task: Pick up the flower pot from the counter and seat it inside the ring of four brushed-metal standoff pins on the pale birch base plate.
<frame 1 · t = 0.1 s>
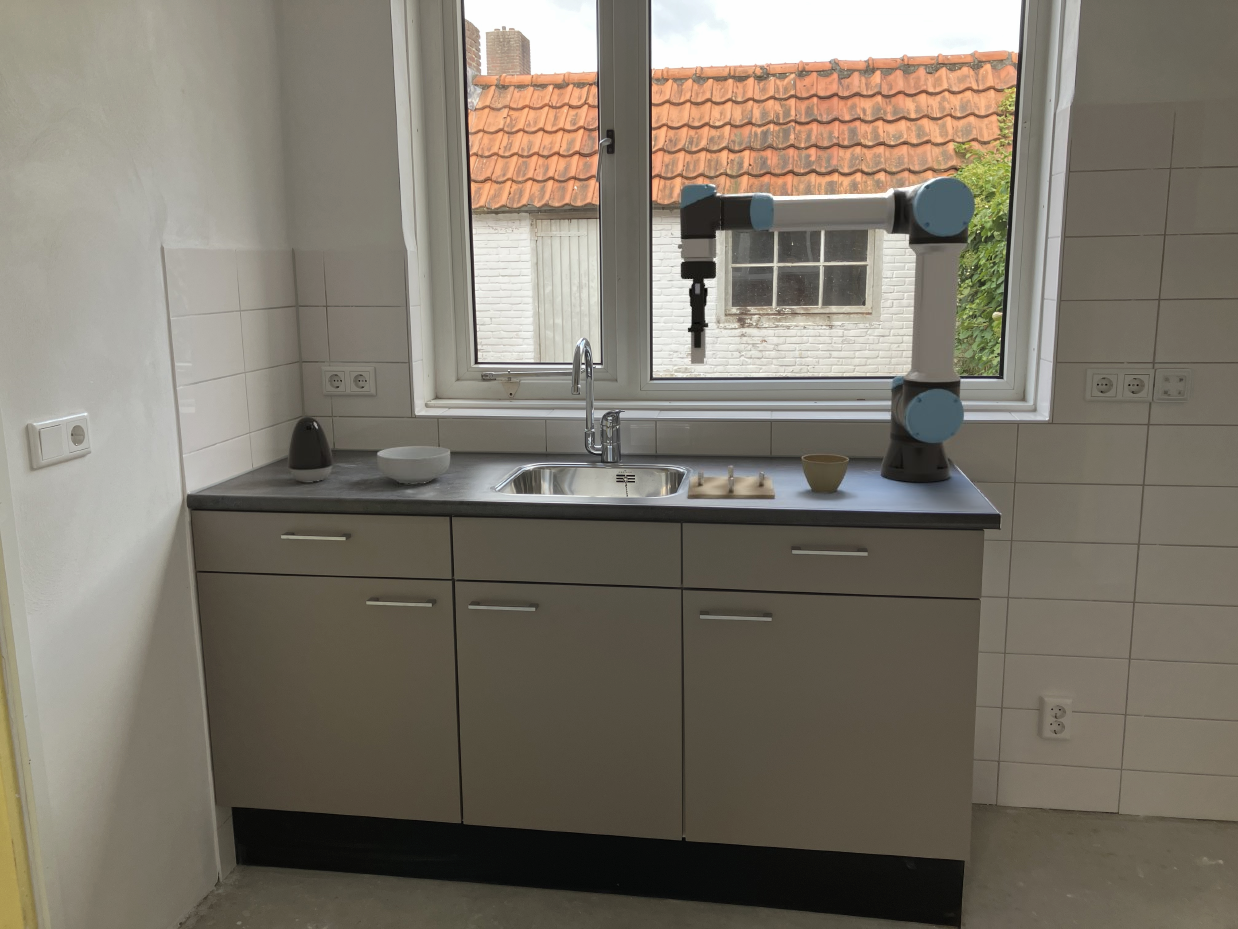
hand: (698, 360, 217), 28 cm above the worktop, fingers open, 13 cm apart
wooden peg board: (731, 488, 220), on the worktop
black egg-shaped dome: (312, 481, 236), on the worktop
flower pot: (824, 491, 217), on the worktop
cereal bowl: (415, 482, 234), on the worktop
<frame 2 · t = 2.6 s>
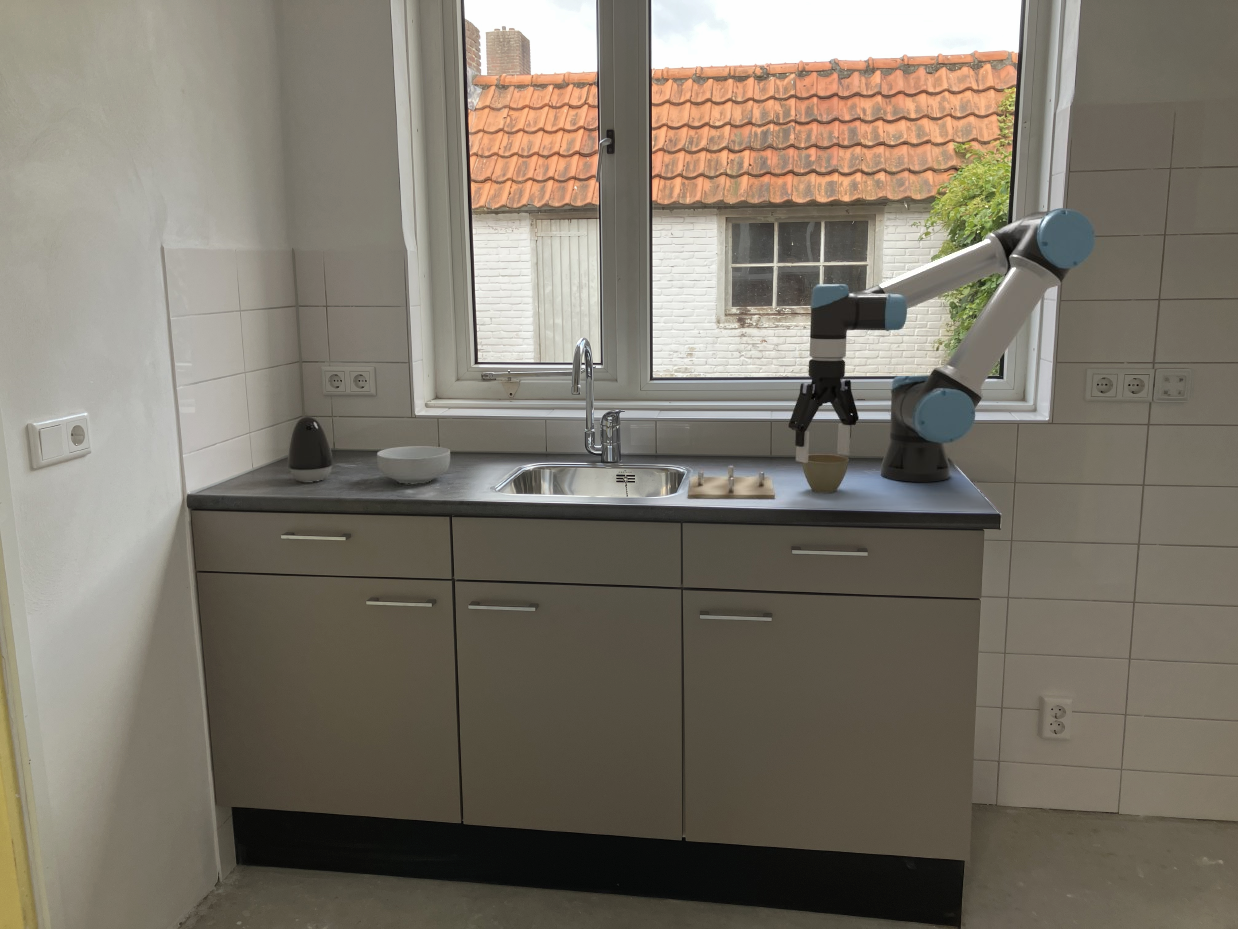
hand: (822, 458, 215), 7 cm above the worktop, fingers open, 13 cm apart
nothing on the worktop moved.
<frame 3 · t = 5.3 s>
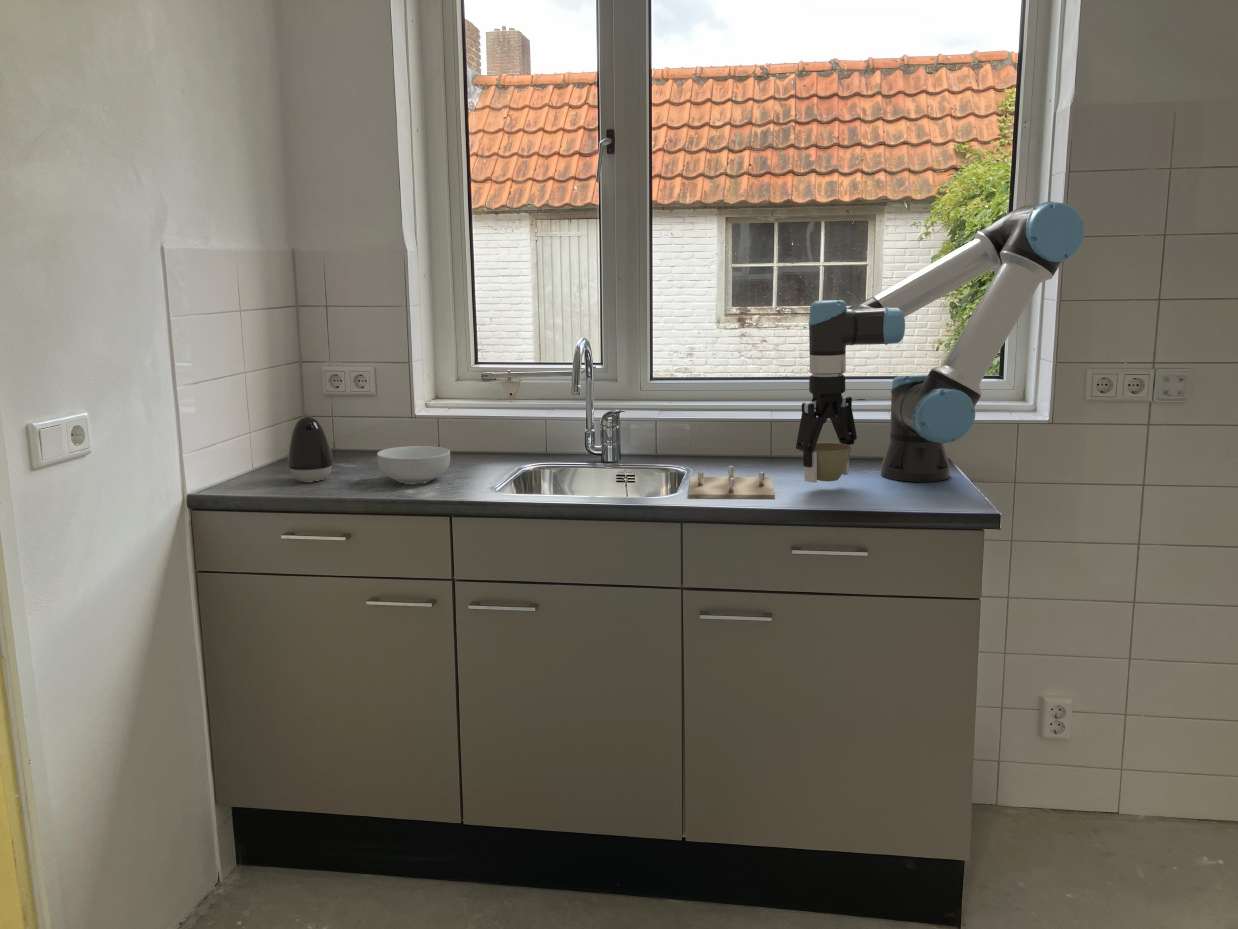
hand: (826, 477, 216), 3 cm above the worktop, fingers closed on flower pot, 10 cm apart
flower pot: (827, 480, 216), point 2 cm above the worktop, touching gripper
everything else where it was.
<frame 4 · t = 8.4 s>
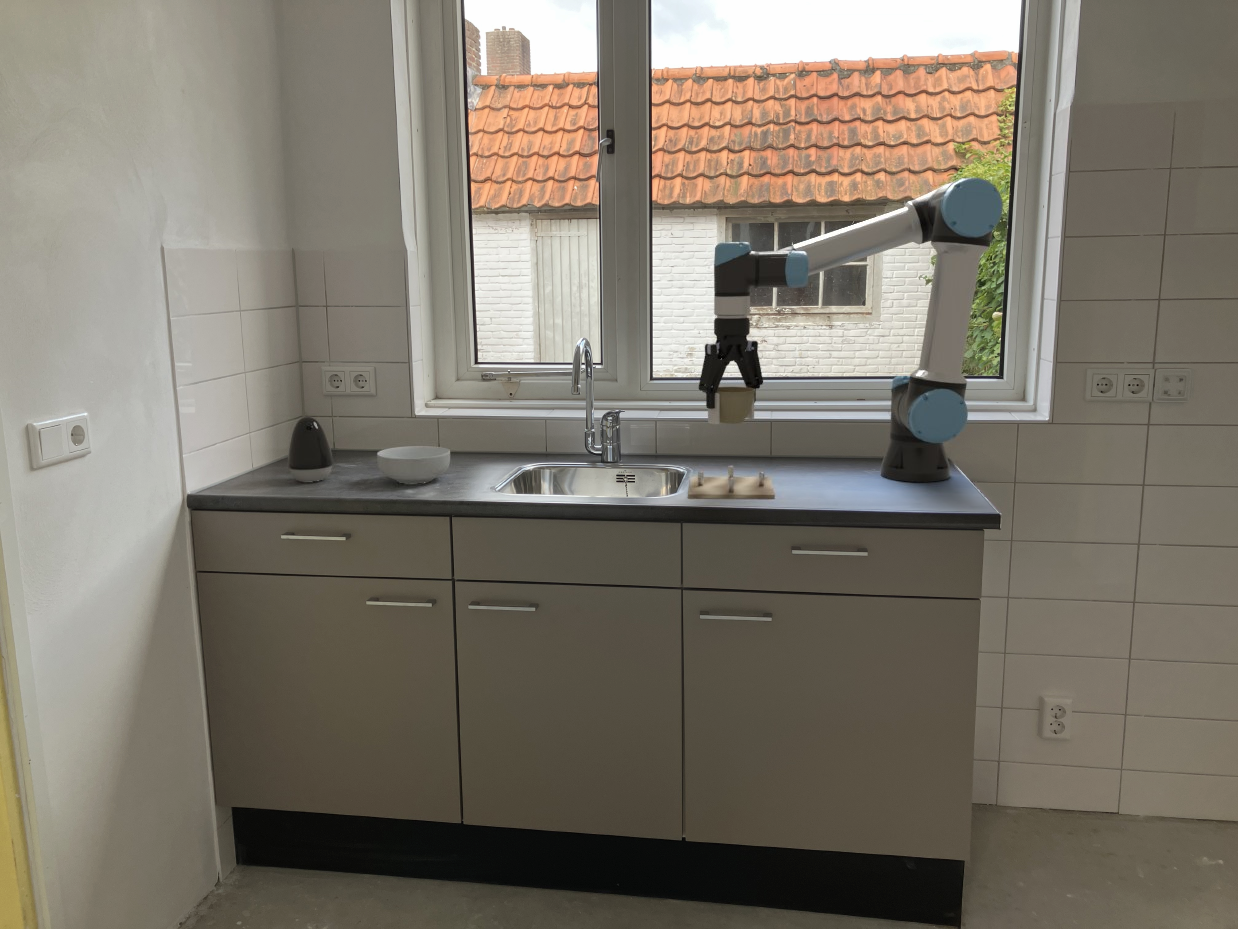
hand: (731, 420, 217), 15 cm above the worktop, fingers closed on flower pot, 10 cm apart
flower pot: (731, 422, 217), point 15 cm above the worktop, touching gripper
everything else where it was.
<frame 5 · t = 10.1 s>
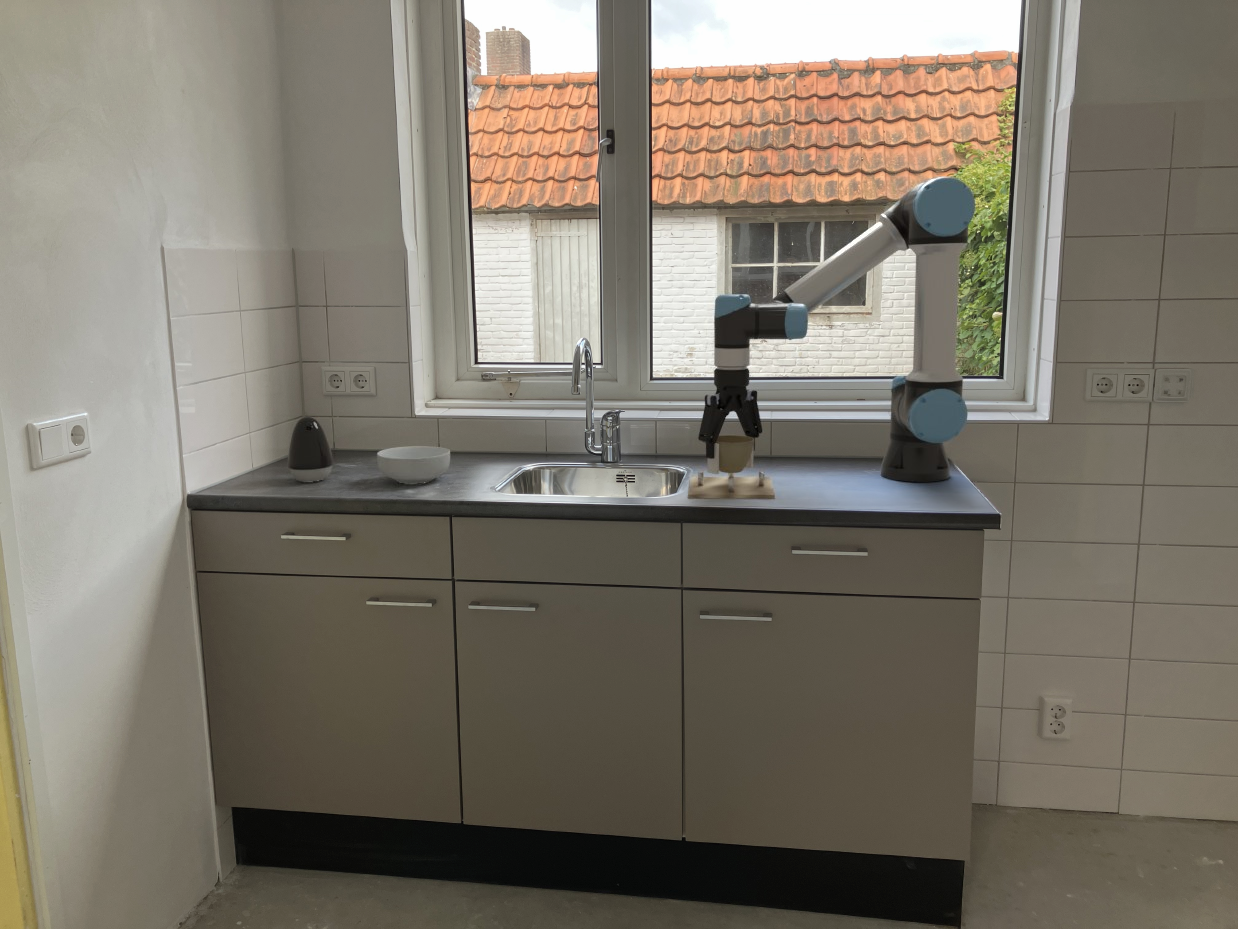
hand: (730, 469, 219), 4 cm above the worktop, fingers closed on flower pot, 10 cm apart
flower pot: (730, 471, 219), point 4 cm above the worktop, touching gripper
everything else where it was.
when the fingers open (2 cm above the worktop, at t = 11.6 s): flower pot drops 1 cm, resting on wooden peg board.
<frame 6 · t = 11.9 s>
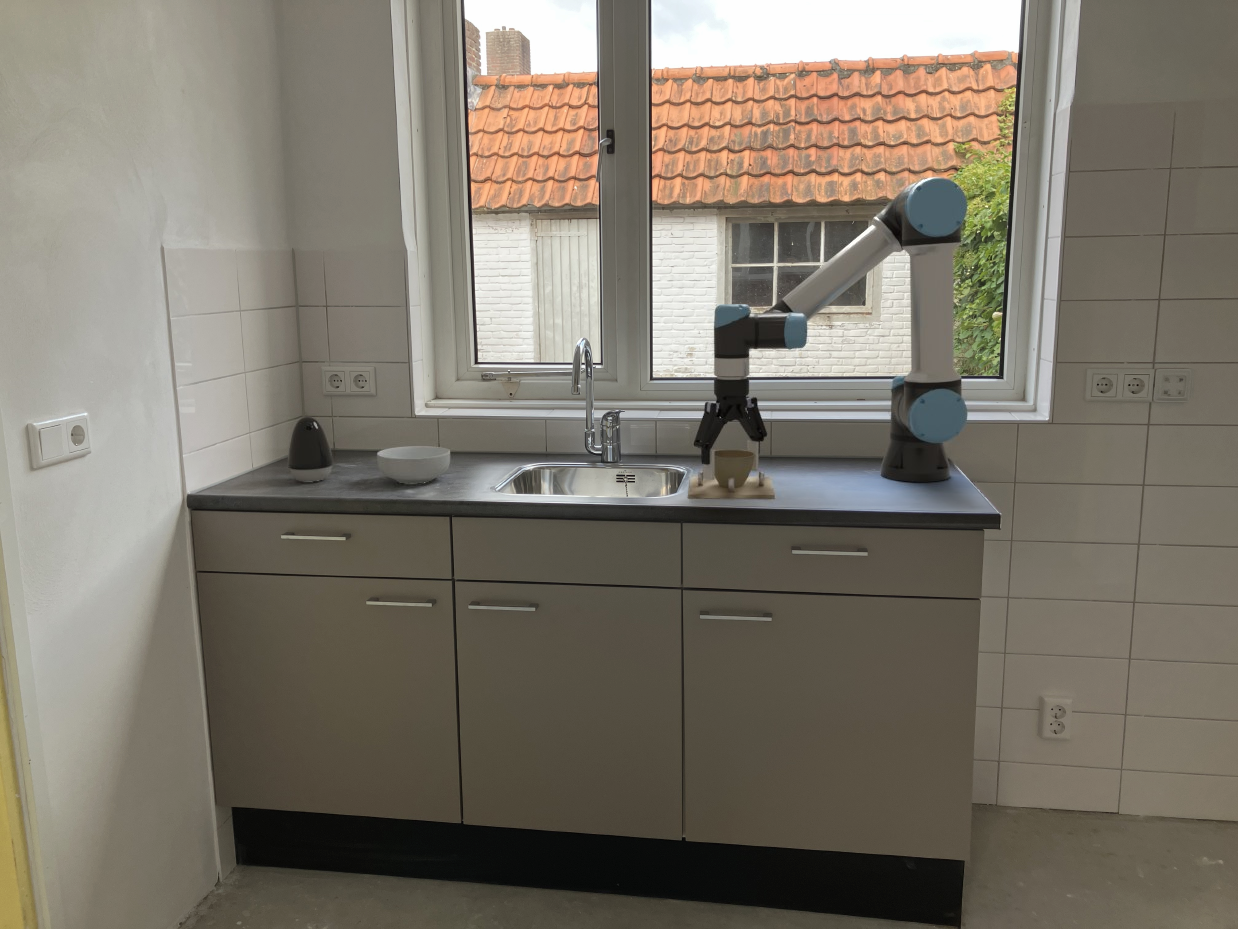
hand: (731, 474, 219), 3 cm above the worktop, fingers open, 13 cm apart
flower pot: (731, 486, 219), point 1 cm above the worktop, touching wooden peg board
everything else where it was.
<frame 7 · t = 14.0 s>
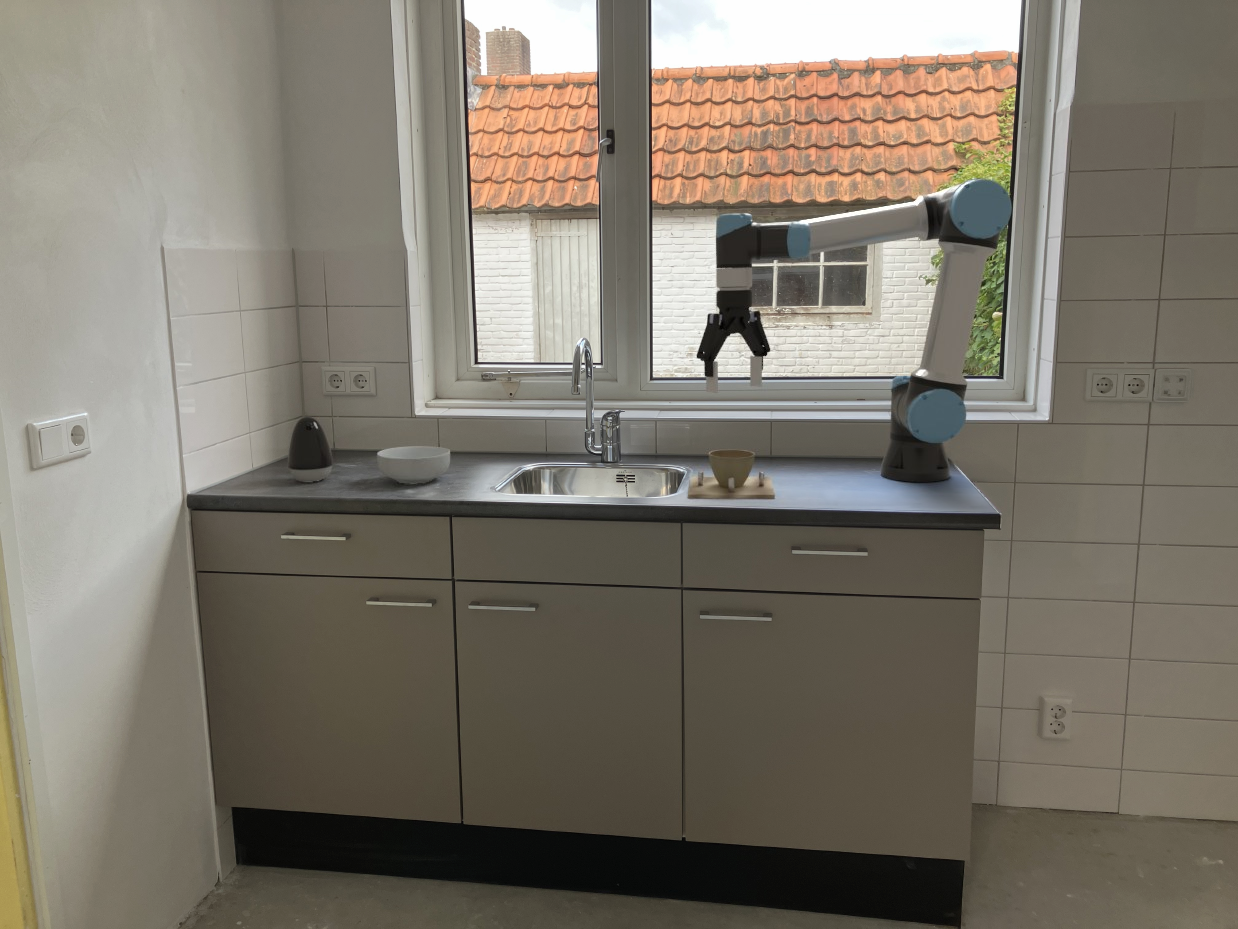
hand: (734, 389, 216), 22 cm above the worktop, fingers open, 13 cm apart
nothing on the worktop moved.
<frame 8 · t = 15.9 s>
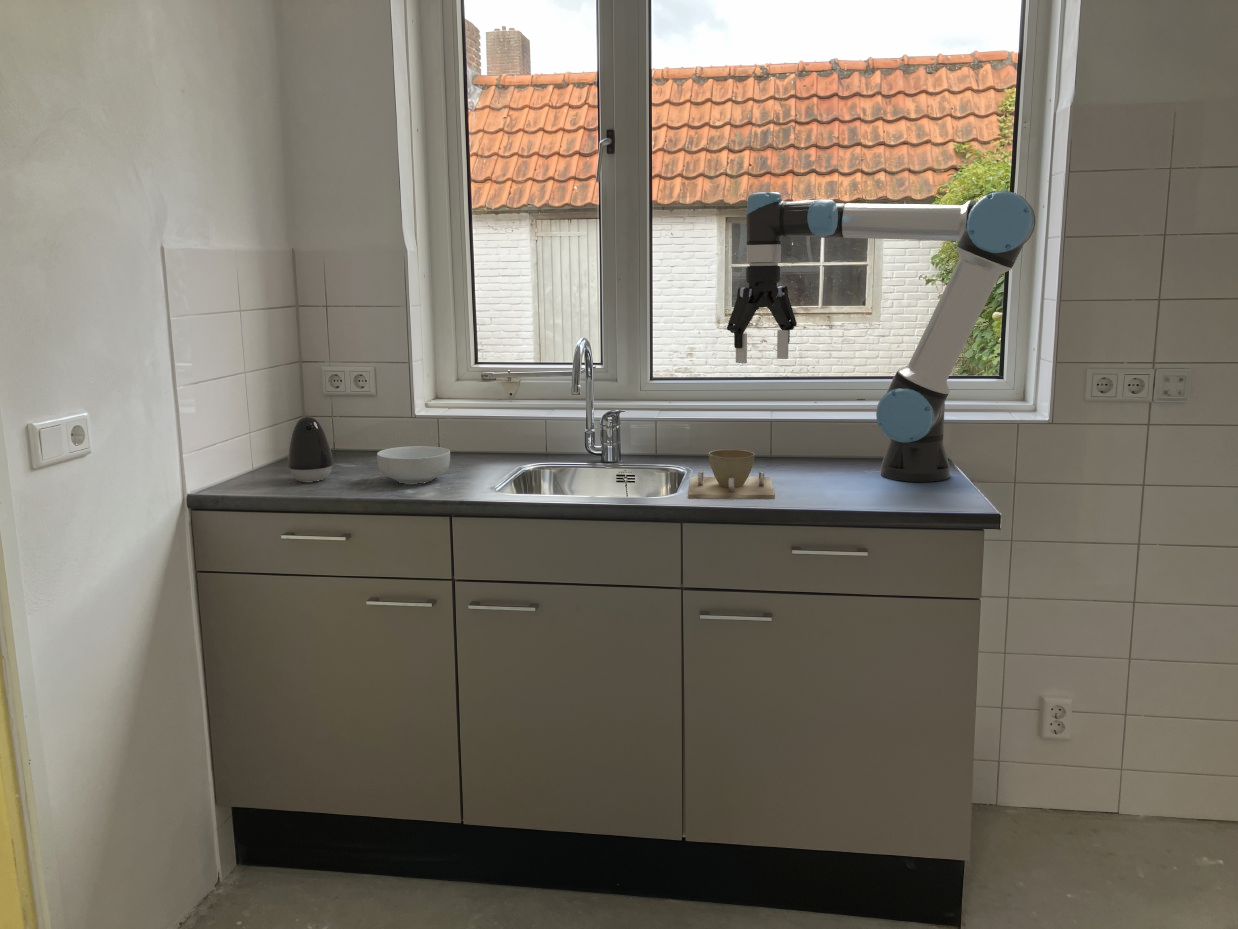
hand: (762, 360, 226), 27 cm above the worktop, fingers open, 13 cm apart
nothing on the worktop moved.
at the end: flower pot 0.1 cm off-centre on the wooden peg board, point 0.6 cm above the wooden peg board's base; flower pot tilted 0°; the gripper is holding nothing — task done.
